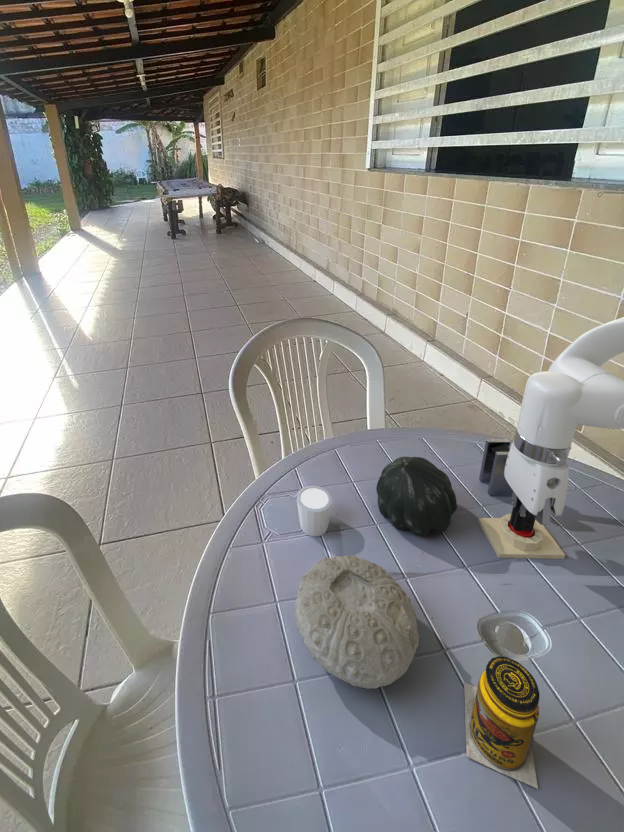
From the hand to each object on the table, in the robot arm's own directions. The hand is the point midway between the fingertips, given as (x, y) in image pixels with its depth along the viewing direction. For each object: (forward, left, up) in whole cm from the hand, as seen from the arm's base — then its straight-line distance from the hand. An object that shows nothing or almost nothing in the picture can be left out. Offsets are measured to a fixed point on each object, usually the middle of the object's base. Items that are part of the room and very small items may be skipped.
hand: (520, 527), depth 77 cm
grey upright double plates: (-2, -13, -4) cm, 14 cm away
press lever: (-7, -13, +6) cm, 16 cm away
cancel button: (0, 0, -2) cm, 2 cm away
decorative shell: (+33, +17, -4) cm, 37 cm away
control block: (0, 0, -4) cm, 4 cm away
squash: (+17, -6, -4) cm, 18 cm away
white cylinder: (+37, -4, -4) cm, 37 cm away
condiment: (+17, +28, -4) cm, 33 cm away
